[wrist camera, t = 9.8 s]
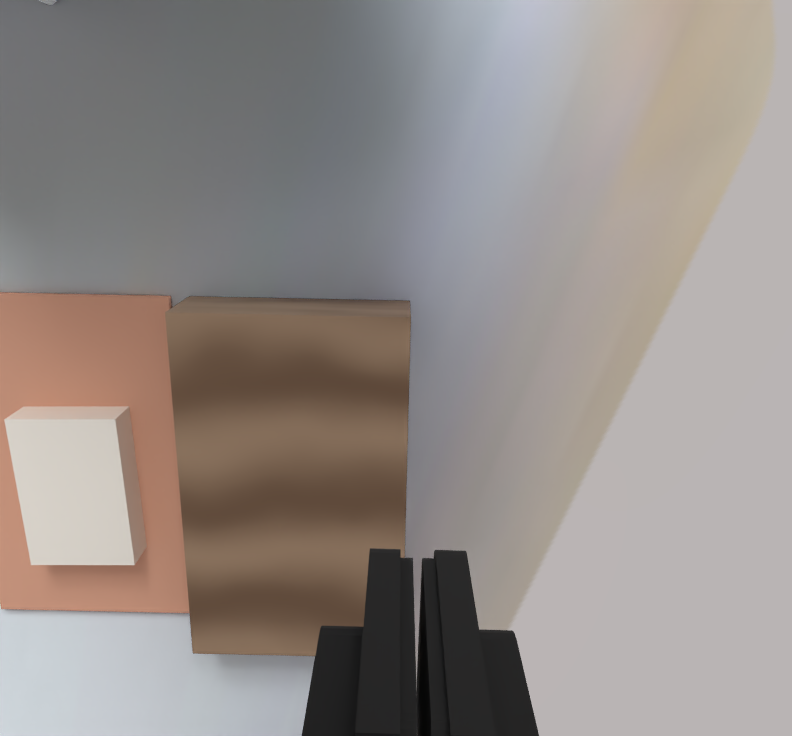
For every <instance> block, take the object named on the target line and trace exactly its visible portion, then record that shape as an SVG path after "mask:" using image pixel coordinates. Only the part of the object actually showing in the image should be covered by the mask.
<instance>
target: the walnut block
mask: <svg viewBox="0 0 792 736" xmlns="http://www.w3.org/2000/svg"><path fill="white" fill-rule="evenodd" d="M165 318H166V330H167V342H168V354H169V367H170V379H171V391H172V403H173V416H174V428H175V440H176V452H177V465H178V477H179V489H180V501H181V514H182V526H183V538H184V550H185V563H186V575H187V587H188V599H189V612H190V624H191V636H192V648H193V653H198V654H244V655H290V656H315V655H316V649H317V644H318V638H319V632H320V628H321V626H359V627H363V626H364V613H365V601H366V588H367V576H368V563H369V551H370V548H376V549H401V558H405V520H406V482H407V444H408V405H409V367H410V328H411V312H410V301H399V300H350V299H301V298H252V297H203V296H189V297H187V298H186V299H184V300H183V301H181V302H180V303H178V304H177V305H175V306H174V307H172V308H171V309H169V310H168V311H166V312H165Z"/></svg>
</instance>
